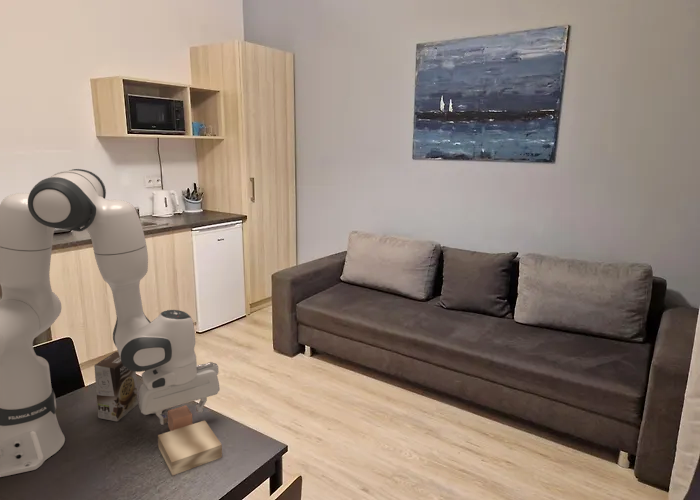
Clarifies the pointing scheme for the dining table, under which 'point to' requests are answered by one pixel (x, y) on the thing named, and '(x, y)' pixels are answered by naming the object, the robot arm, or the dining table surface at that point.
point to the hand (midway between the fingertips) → (182, 417)
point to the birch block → (189, 447)
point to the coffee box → (114, 388)
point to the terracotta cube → (179, 418)
